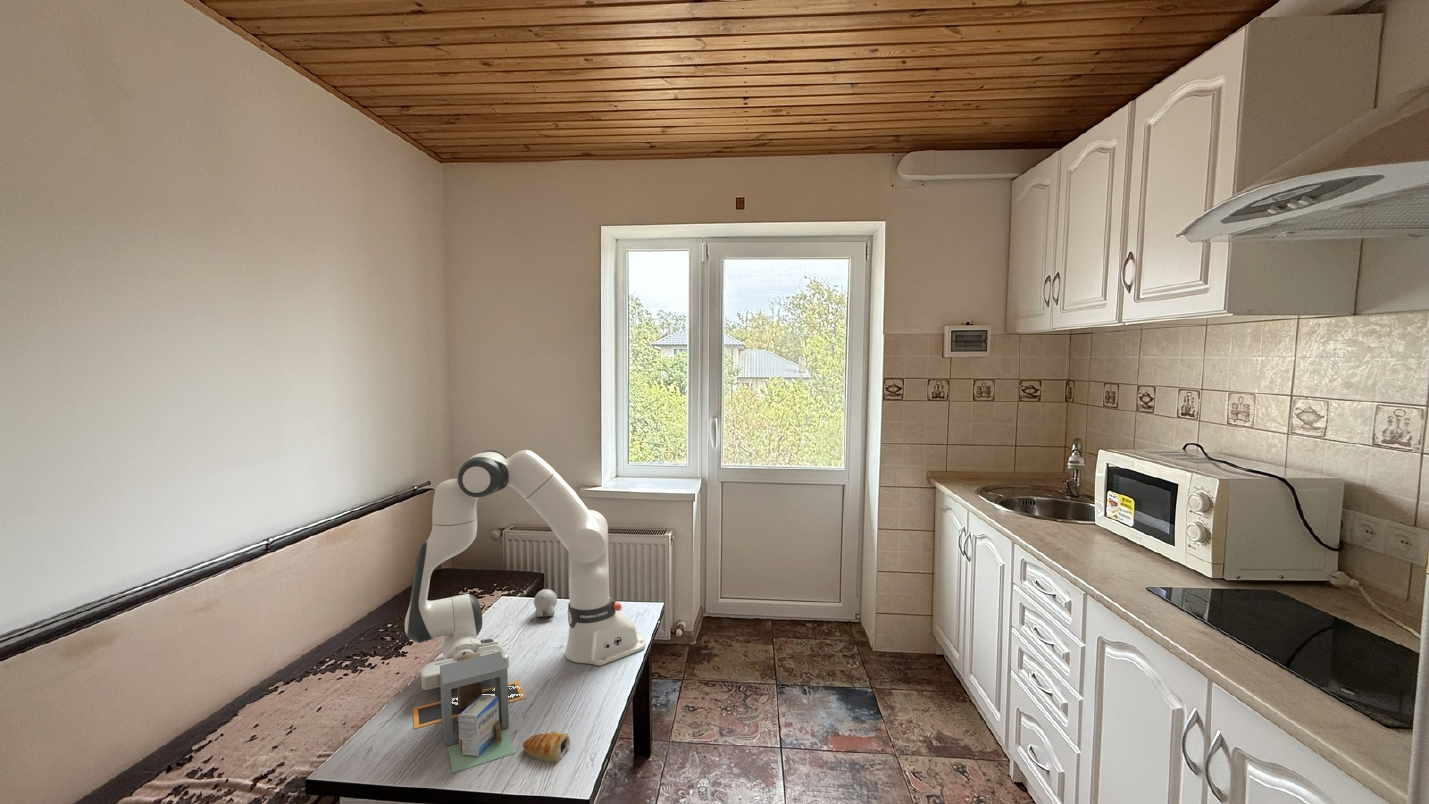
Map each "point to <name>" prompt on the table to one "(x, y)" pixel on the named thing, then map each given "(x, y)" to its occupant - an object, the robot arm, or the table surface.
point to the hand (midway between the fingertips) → (469, 682)
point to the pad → (487, 755)
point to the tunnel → (470, 674)
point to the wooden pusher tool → (472, 700)
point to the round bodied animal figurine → (545, 603)
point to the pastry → (547, 746)
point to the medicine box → (478, 725)
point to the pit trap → (453, 707)
